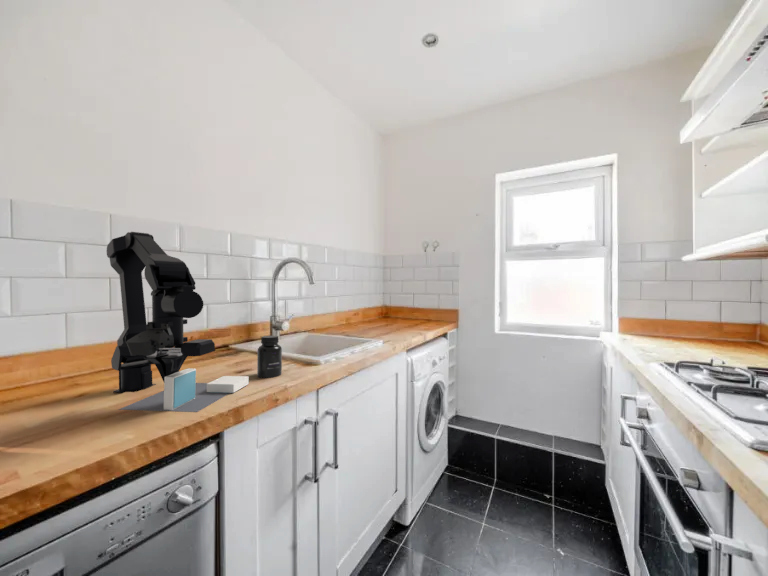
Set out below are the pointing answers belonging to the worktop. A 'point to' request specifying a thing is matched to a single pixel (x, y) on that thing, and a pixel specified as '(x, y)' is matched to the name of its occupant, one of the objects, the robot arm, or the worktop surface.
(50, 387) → the worktop surface
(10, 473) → the worktop surface
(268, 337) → the supplement bottle
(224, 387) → the tile far
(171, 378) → the tile near
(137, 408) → the mat
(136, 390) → the robot arm
